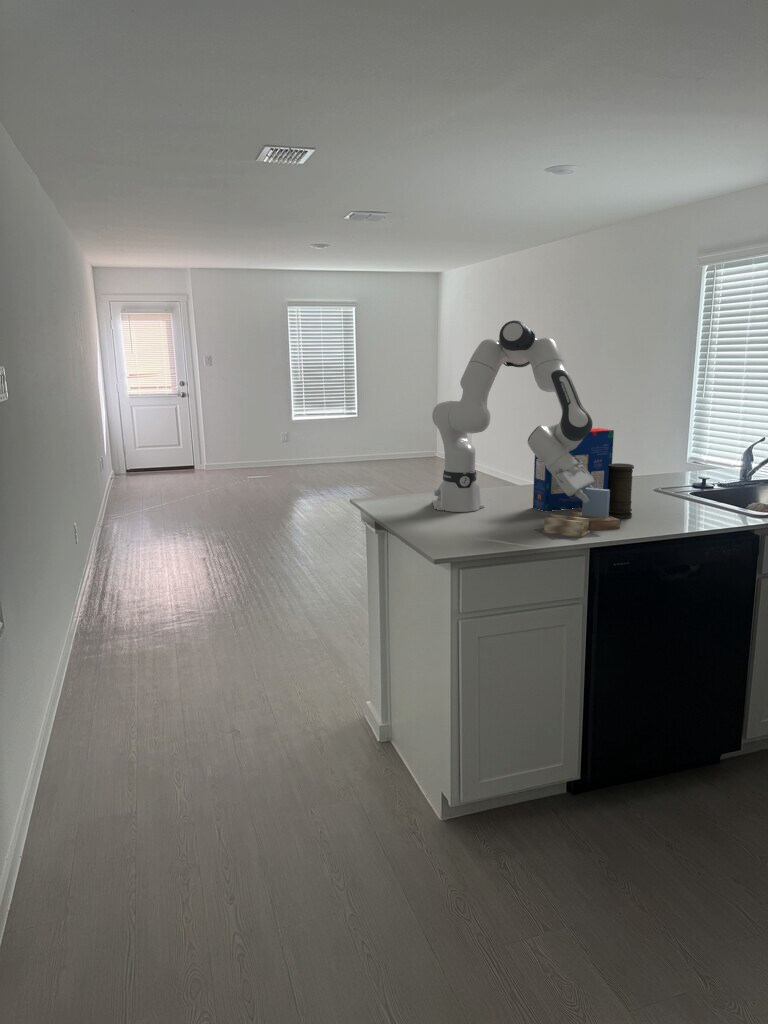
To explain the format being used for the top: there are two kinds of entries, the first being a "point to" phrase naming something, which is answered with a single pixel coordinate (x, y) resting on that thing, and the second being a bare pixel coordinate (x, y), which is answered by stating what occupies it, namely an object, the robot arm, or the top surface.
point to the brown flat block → (599, 522)
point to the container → (620, 490)
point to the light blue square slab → (596, 503)
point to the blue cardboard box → (594, 458)
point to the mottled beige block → (566, 525)
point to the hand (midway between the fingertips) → (591, 499)
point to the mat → (558, 536)
